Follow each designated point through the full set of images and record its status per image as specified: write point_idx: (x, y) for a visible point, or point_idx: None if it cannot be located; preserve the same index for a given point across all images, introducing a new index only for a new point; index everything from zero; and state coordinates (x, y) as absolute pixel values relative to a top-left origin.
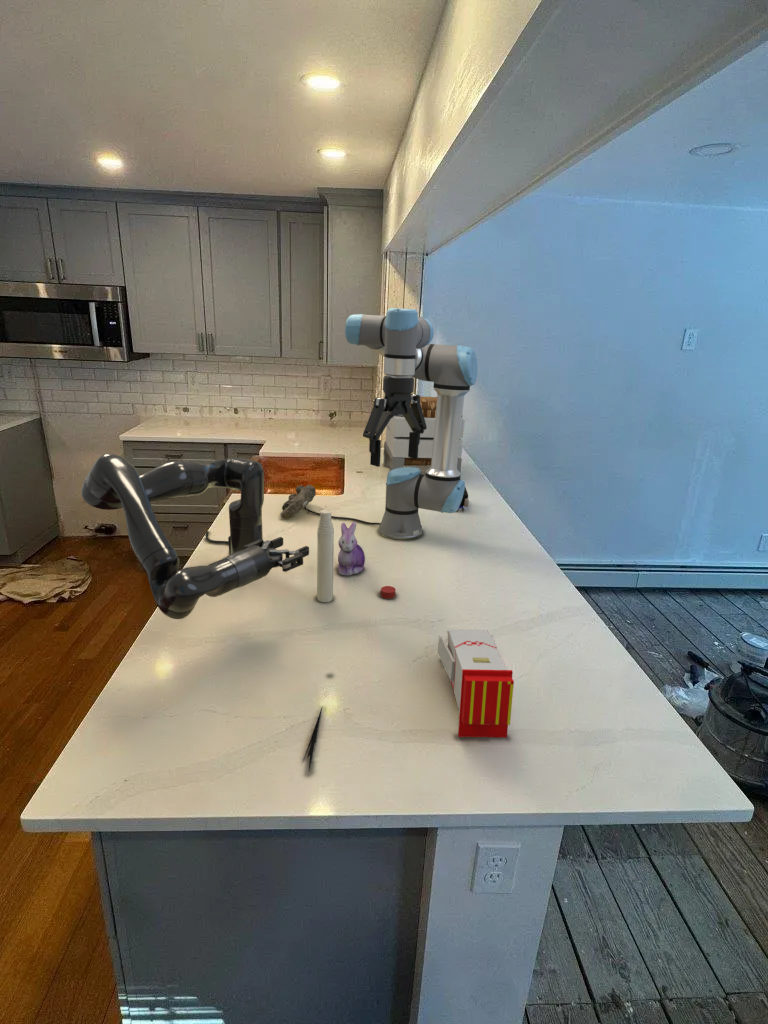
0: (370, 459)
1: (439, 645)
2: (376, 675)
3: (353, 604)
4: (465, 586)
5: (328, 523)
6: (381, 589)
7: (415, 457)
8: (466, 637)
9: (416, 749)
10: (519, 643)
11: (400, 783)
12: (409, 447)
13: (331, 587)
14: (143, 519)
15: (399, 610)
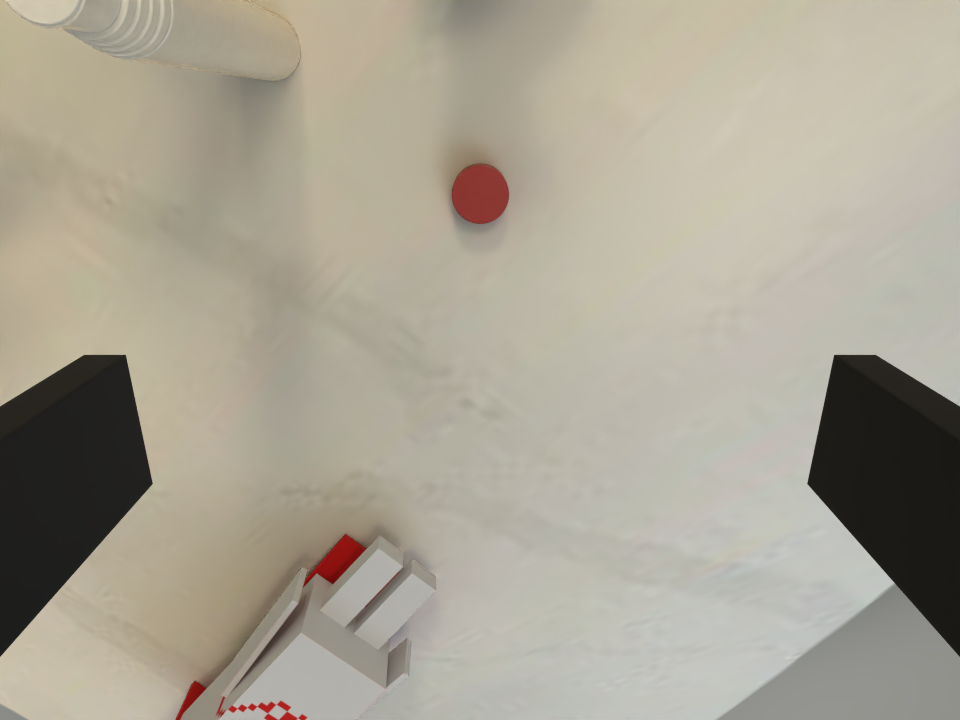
0: (40, 382)
1: (292, 590)
2: (167, 475)
3: (334, 159)
4: (745, 326)
5: (84, 38)
6: (458, 179)
7: (814, 490)
8: (299, 689)
9: (106, 657)
10: (559, 599)
11: (37, 683)
12: (916, 436)
13: (263, 77)
14: None
15: (436, 294)
